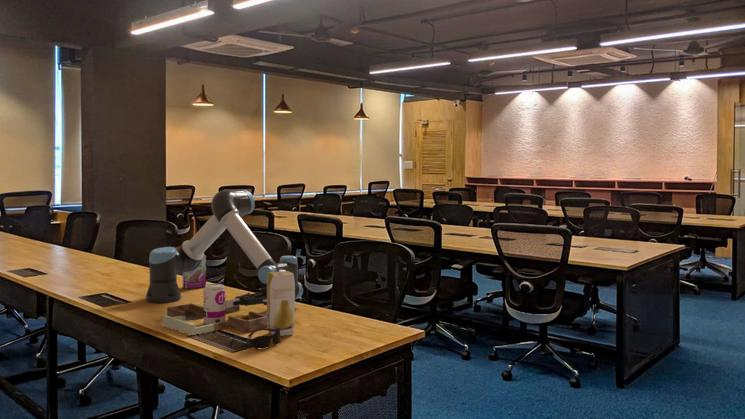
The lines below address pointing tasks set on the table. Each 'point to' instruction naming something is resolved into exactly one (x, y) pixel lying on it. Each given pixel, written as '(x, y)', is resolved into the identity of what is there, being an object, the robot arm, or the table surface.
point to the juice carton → (281, 302)
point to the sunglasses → (262, 338)
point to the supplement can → (214, 303)
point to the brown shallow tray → (197, 311)
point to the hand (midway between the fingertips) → (225, 304)
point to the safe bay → (185, 325)
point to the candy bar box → (195, 277)
